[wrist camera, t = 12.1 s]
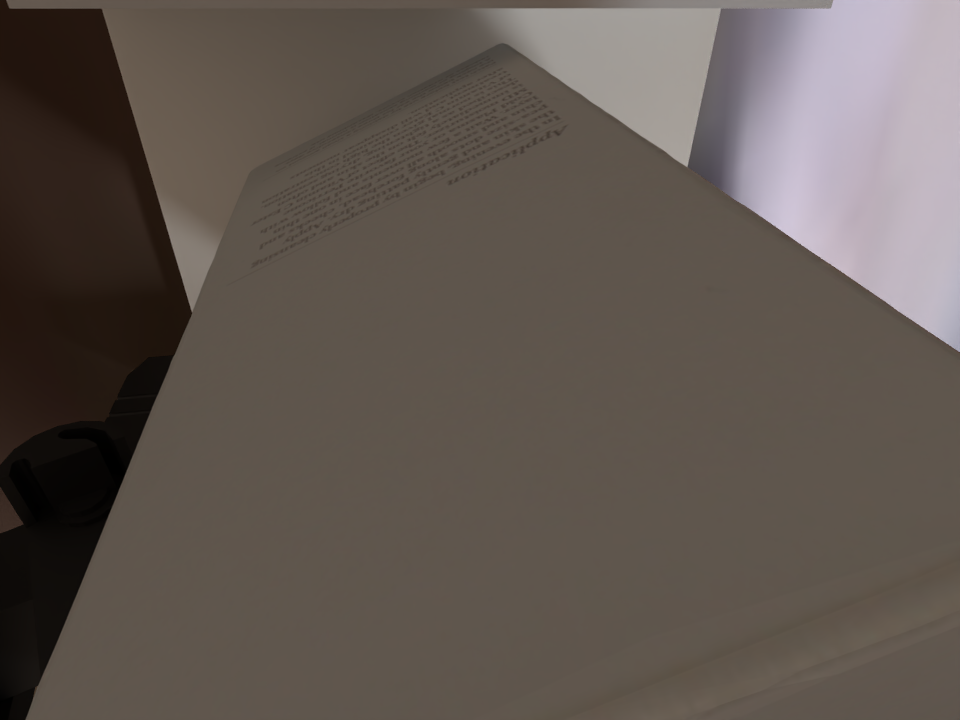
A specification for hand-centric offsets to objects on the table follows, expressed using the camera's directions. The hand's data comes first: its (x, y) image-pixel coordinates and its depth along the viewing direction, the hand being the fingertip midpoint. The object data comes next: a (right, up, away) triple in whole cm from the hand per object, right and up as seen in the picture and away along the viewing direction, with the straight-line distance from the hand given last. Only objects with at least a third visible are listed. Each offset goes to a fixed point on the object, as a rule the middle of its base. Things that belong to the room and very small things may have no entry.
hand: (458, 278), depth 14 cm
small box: (0, +1, +1) cm, 1 cm away
